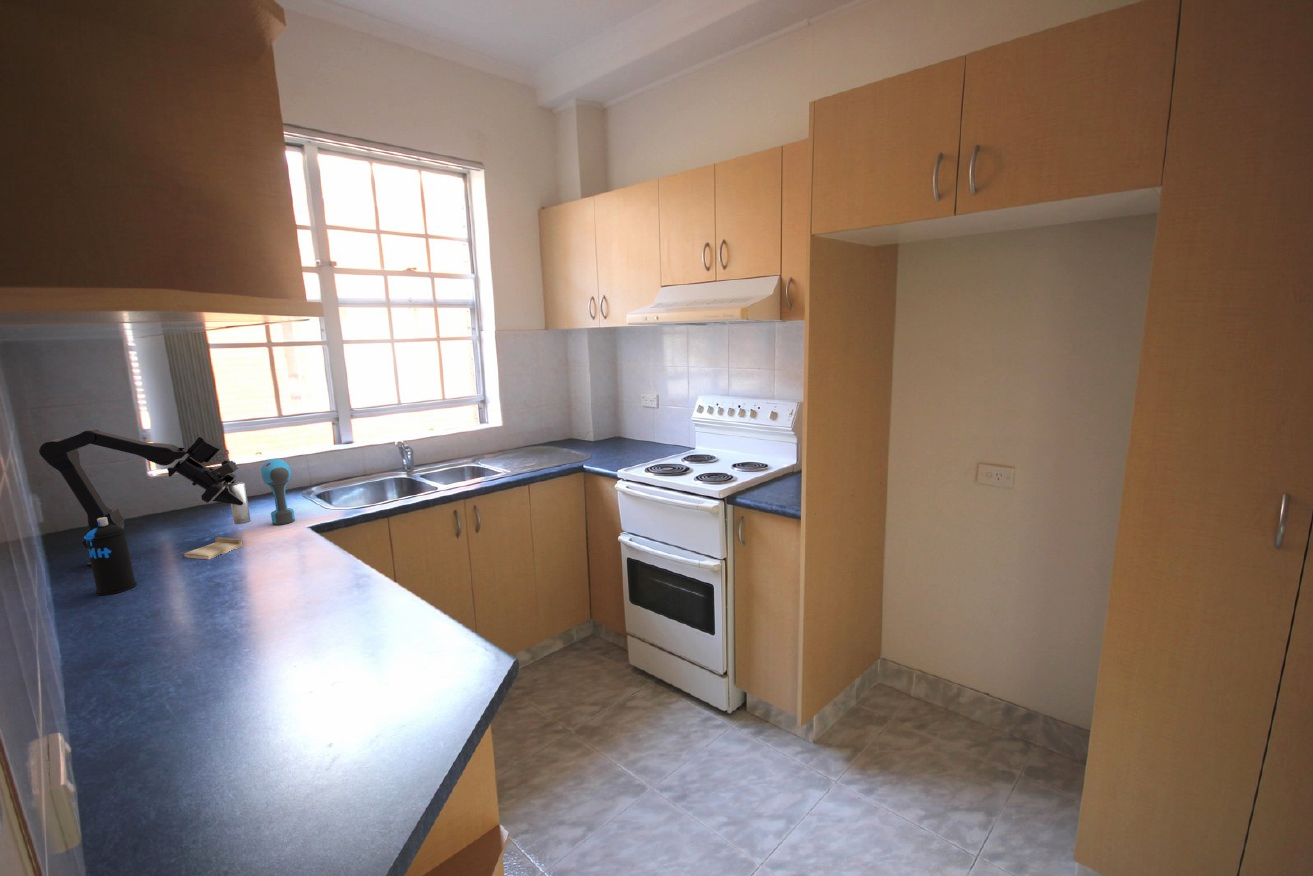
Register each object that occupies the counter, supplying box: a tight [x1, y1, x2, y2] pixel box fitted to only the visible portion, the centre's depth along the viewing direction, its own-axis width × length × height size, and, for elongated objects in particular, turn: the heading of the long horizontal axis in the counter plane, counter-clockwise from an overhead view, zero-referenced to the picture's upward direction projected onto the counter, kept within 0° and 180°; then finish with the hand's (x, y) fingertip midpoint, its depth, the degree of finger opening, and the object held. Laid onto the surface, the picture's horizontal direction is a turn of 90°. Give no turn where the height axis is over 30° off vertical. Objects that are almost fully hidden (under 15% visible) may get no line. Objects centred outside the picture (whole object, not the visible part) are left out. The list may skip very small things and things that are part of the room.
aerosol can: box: [83, 517, 138, 596], centre depth 156 cm, size 8×8×20 cm
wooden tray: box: [183, 536, 244, 560], centre depth 184 cm, size 11×10×3 cm
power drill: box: [260, 458, 296, 526], centre depth 214 cm, size 28×9×23 cm, turn 40°
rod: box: [229, 481, 252, 525], centre depth 190 cm, size 4×4×13 cm
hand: (244, 502), depth 191 cm, fingers closed on rod, 4 cm apart
